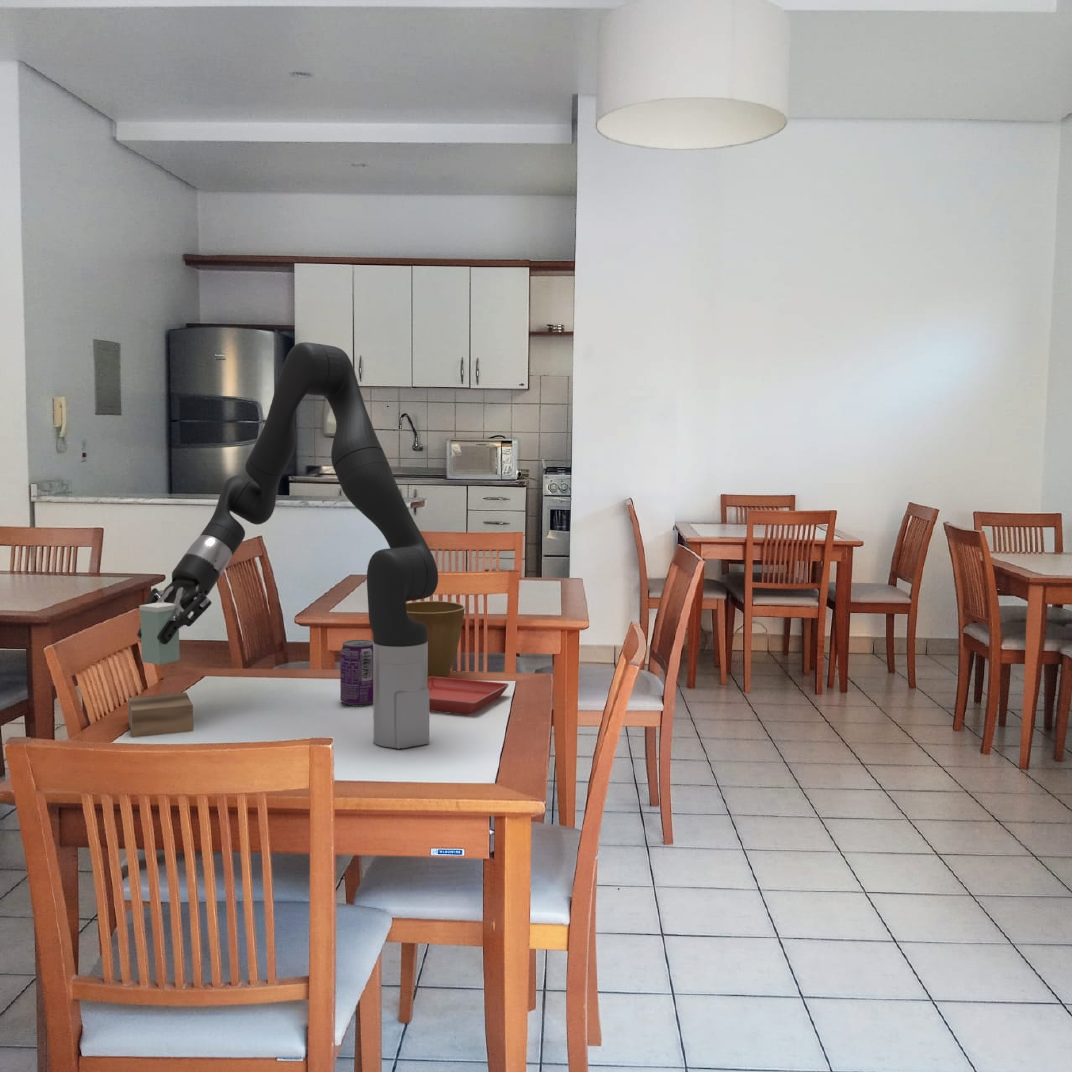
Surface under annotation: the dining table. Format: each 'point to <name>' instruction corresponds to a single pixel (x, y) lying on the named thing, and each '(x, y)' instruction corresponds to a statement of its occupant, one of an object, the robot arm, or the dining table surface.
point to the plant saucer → (462, 694)
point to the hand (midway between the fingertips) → (151, 639)
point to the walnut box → (160, 714)
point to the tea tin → (151, 626)
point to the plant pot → (439, 632)
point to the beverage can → (356, 672)
